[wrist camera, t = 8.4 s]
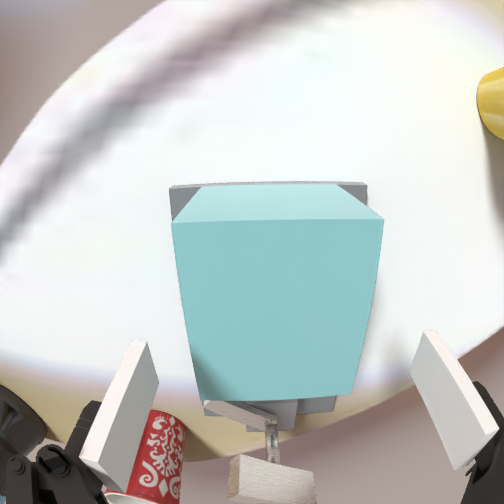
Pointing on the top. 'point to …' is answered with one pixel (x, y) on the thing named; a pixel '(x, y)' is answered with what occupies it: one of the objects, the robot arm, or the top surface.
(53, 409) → the top surface
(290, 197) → the cover
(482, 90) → the plant pot
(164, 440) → the mug
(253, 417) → the grey flat angled piece
